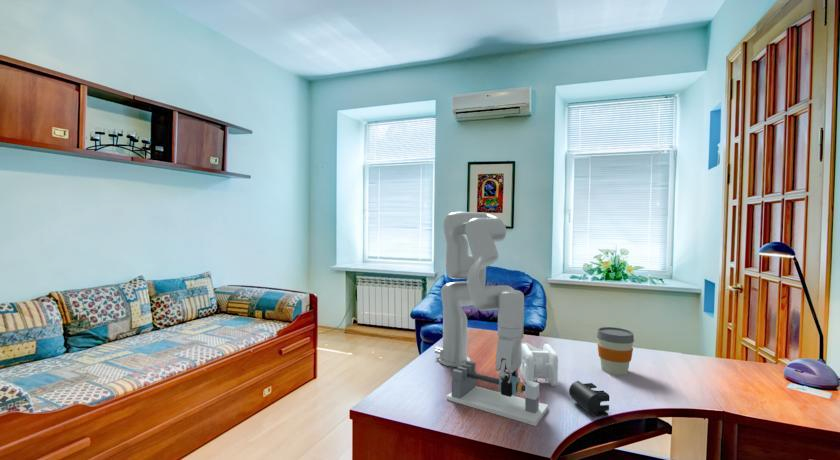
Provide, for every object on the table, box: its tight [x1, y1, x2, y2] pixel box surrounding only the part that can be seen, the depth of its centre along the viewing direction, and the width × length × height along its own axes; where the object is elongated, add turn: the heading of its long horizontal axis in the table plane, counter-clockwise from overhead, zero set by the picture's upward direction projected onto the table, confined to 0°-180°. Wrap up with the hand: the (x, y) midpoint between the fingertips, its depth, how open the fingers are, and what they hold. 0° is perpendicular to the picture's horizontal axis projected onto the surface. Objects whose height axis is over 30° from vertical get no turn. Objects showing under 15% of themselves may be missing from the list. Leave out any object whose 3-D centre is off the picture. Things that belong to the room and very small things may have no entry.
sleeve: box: [498, 374, 521, 396], centre depth 118 cm, size 5×4×4 cm
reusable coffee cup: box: [596, 326, 635, 376], centre depth 150 cm, size 13×13×15 cm
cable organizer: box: [519, 343, 559, 388], centre depth 139 cm, size 15×11×12 cm
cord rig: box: [446, 361, 549, 427], centre depth 121 cm, size 28×12×9 cm, turn 57°
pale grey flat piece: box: [522, 341, 543, 351], centre depth 170 cm, size 25×24×1 cm
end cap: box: [568, 380, 610, 418], centre depth 118 cm, size 10×7×7 cm
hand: (509, 391), depth 118 cm, fingers closed on sleeve, 4 cm apart
